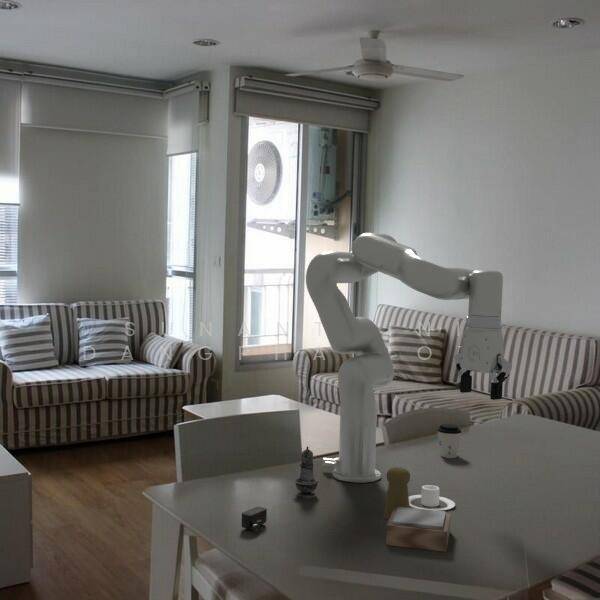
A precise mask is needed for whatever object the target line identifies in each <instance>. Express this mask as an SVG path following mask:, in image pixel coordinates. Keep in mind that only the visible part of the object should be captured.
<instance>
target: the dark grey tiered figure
mask: <svg viewBox="0 0 600 600" xmlns="http://www.w3.org/2000/svg"><path fill="white" fill-rule="evenodd" d="M300 455H301V462H300V464H299V467H300V473H299V477H297V478H294V480H293V481H294V484H295V487H296V489H297V490H298V492H296V493H295V494H294V495H295V497H296V498H299V499H304V500H305V499H306V500H309V499H315V498H317V497H316V496H318V494H317V493H316V492H314V491H315V490H316V489H317V487H318V483H319V481H320V480H318V479H317V478H315V477H314V467H315V463H314V452H313V451H312V450H310V449H309V446H308V445H307V446H306V449H304V450H303V451H302V452H301V454H300Z"/></svg>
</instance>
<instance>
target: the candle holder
mask: <svg viewBox="0 0 600 600" xmlns="http://www.w3.org/2000/svg"><path fill="white" fill-rule="evenodd" d="M440 490H441V489H440V487H439V486H438V485H431V484H425V485H422V486H421V494H415V495H410V496H409V495H408V496H409V507H410V508H417V509H427V510H436V511H447V510H448V511H449V510H451V509H453V508H454V507H456V503H455V502H454V501H453V500H451V499H449V498H447V497H444V496H440ZM416 499H420V504H421V505H422V506H423V507H419V506H416V505H414V504H412V503H411V502H412V501H414V500H416ZM440 501H441V502H443V503H445V504H446V506H447V507H446V506H445V507H441V508H440V507H438V506H439V505H440Z"/></svg>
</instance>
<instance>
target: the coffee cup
mask: <svg viewBox="0 0 600 600" xmlns="http://www.w3.org/2000/svg"><path fill="white" fill-rule="evenodd" d="M436 431H437V437H438V448H439V456H440V457H442V458H445V459H446V458H447V459H454V458H457V457H458V453H459V446H460V441H461V435H462V434H461V433H462V429H461V428H459V426H458V425H457V424H451V423H447V424H445V423H444V424H443V423H442V424H440V425H439V427H438V428H437V430H436Z"/></svg>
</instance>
